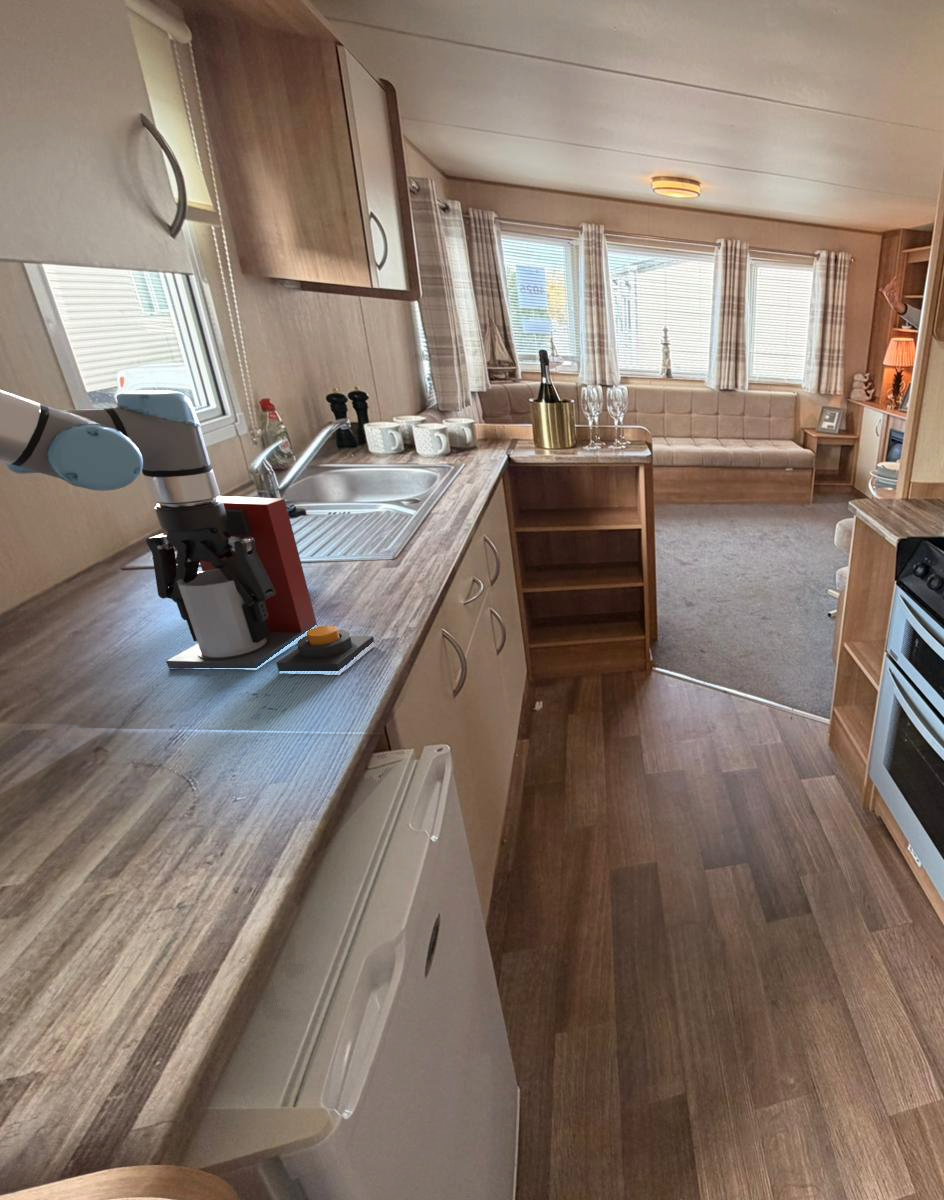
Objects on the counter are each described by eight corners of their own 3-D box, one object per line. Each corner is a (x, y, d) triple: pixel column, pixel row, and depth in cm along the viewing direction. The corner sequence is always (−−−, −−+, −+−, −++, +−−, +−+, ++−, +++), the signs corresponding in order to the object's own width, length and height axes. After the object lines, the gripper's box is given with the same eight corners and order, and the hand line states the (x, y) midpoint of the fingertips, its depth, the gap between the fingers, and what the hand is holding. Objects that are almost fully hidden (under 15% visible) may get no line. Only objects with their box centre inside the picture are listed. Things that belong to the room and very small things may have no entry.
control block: (340, 676, 100) (334, 653, 98) (279, 675, 99) (272, 652, 97) (375, 647, 109) (371, 626, 107) (320, 646, 108) (315, 624, 107)
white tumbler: (187, 657, 99) (161, 585, 94) (227, 634, 107) (206, 567, 102) (242, 658, 100) (220, 587, 95) (279, 635, 107) (260, 568, 103)
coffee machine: (257, 671, 100) (211, 523, 90) (168, 669, 99) (113, 519, 89) (318, 630, 113) (284, 498, 104) (241, 628, 112) (200, 495, 103)
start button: (329, 646, 101) (327, 636, 100) (303, 645, 100) (300, 635, 100) (345, 635, 104) (342, 625, 104) (319, 634, 104) (317, 625, 103)
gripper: (280, 497, 98) (315, 629, 107) (134, 491, 97) (182, 626, 105) (244, 509, 91) (285, 650, 100) (86, 504, 90) (141, 647, 98)
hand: (232, 638), depth 103 cm, fingers closed on white tumbler, 8 cm apart
